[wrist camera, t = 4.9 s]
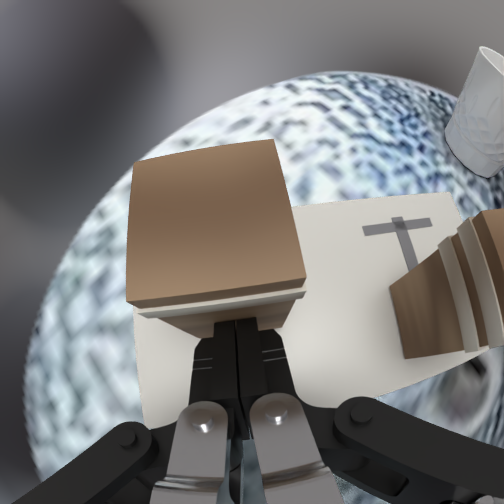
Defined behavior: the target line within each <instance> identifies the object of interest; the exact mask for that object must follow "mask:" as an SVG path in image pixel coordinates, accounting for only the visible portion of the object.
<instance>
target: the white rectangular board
mask: <svg viewBox="0 0 504 504" xmlns="http://www.w3.org/2000/svg"><path fill="white" fill-rule="evenodd" d="M291 209H292V213H293V217H294V221H295V226H296V230H297V234H298V239H299V243H300V248H301V252H302V257H303V261H304V266H305V271H306V275H307V278H306V280H305V284H306V289H307V291H306V293H305V295H304V297H303V298H302V299H296V301H295V303H294V305H293V307H292V309H291V311H290V313H289V315H288V317H287V319H286V321H285V323H284V325H283V327H281V328H275V329H274V330H275V331H276V332H277V333H278V334H279V335H280V336H281V337H282V341H283V344H284V349H285V352H286V356H287V360H288V364H289V368H290V372H291V376H292V379H293V383H294V387H295V391H296V394H297V395H298V397H299V398H300V399H301V400H302V401H304V402H305V403H307V404H309V405H312V406H315V407H324V408H338V406H339V405H340V404H341V403H343V402H344V401H346V400H348V399H350V398H353V397H358V396H365V397H370V398H375V397H378V396H381V395H384V394H387V393H390V392H393V391H396V390H399V389H402V388H404V387H407V386H410V385H413V384H415V383H418V382H420V381H423V380H425V379H428V378H430V377H433V376H435V375H438V374H440V373H442V372H444V371H447V370H449V369H451V368H453V367H456V366H458V365H460V364H462V363H464V362H466V361H468V360H470V359H472V358H474V357H476V356H478V355H480V354H482V353H484V352H486V351H487V350H489V346H487V347H485V348H483V349H481V350H479V351H475V352H469V353H465V350H463V351H458V352H452V353H446V354H440V355H434V356H427V357H420V358H412V359H405V355H404V350H403V344H402V339H401V334H400V329H399V325H398V320H397V316H396V311H395V307H394V303H393V299H392V295H391V291H390V287H389V286H390V285H392V284H393V283H394V282H396V281H397V280H399V279H400V278H401V277H403V276H404V275H405V274H407V273H408V272H409V271H411V270H412V269H413V268H414V267H416V266H417V265H418V264H420V263H421V262H422V261H423V260H425V259H426V258H427V257H429V256H430V255H431V254H432V253H434V252H435V251H436V250H437V249H438V246H437V245H438V244H439V243H440V242H442V241H443V240H444V239H445V238H446V237H447V236H451V235H455V234H456V233H457V229H456V228H458V227H459V226H460V225H461V224H462V223H463V221H462V219H461V216H460V214H459V211H458V209H457V207H456V205H455V202H454V200H453V198H452V196H451V194H450V192H440V193H426V194H413V195H400V196H389V197H378V198H367V199H357V200H347V201H338V202H329V203H320V204H311V205H303V206H295V207H291ZM133 315H134V335H135V349H136V361H137V372H138V381H139V390H140V397H141V405H142V412H143V418H144V424H145V426H146V427H147V428H159V427H162V426H166V425H169V424H171V423H173V422H175V421H177V420H178V417H179V415H180V413H181V412H182V411H183V410H184V409H185V408H186V407H187V406H188V403H189V394H190V384H191V375H192V371H193V369H192V367H193V361H194V360H193V358H194V350H195V347H196V346H197V344H198V343H199V341H200V340H201V338H197V337H195V336H193V335H191V334H188V333H186V332H184V331H182V330H180V329H178V328H176V327H174V326H172V325H170V324H168V323H166V322H164V321H162V320H160V319H158V318H151V319H147V318H145V317H143V316H141V315H139V314H137V313H136V307H135V306H133ZM490 349H491V348H490Z"/></svg>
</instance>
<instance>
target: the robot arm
mask: <svg viewBox="0 0 504 504" xmlns="http://www.w3.org/2000/svg"><path fill="white" fill-rule="evenodd" d="M193 360H194V361H193V367H192V369H193V371H192V375H191V384H190V394H189V403H188V406H187V407H186V408H185V409H184V410H183V411H182V412H181V413H180V415H179V417H178V420H177V421H175V422H173V423H171V424H169V425H166V426H162V427H159V428H155V429H151V430H149V429H148V428H147V427H146V426H145V425H143V424H141V423H138V422H132V421H131V422H124V423H121V424H119V425H117V426H116V427H114V428H113V429H112V430H111V431H109V432H108V433H107V434H106V435H104V436H103V437H102V438H101V439H99V440H98V441H97V442H95V443H94V444H93V445H92V446H90V447H89V448H88V449H86V450H85V451H84V452H83V453H81V454H80V455H79V456H77V457H76V458H75V459H73V460H72V461H71V462H69V463H68V464H67V465H65V466H64V467H63V468H61V469H60V470H59V471H57V472H56V473H55V474H53V475H52V476H51V477H49V478H48V479H46V480H45V481H44V482H42V483H41V484H39V485H38V486H37V487H35V488H34V489H32V490H31V491H29V492H28V493H27V494H25V495H24V496H22V497H21V498H20V499H18V500H16V501H15V502H13V503H12V504H243V475H244V459H243V445H242V440H249V439H250V436H249V429H250V433H251V437H252V439H254V441H255V446H256V451H257V456H258V461H259V465H260V470H261V475H262V480H263V481H262V482H263V488H264V493H265V497H266V502H267V504H344V501H343V499H342V496H341V494H340V491H339V488H338V486H337V483H336V481H335V478H334V476H333V474H332V473H334V474H335V475H337V476H339V477H340V478H342V479H344V480H346V481H348V482H349V483H351V484H353V485H355V486H357V487H358V488H360V489H362V490H364V491H366V492H368V493H370V494H372V495H374V496H376V497H378V498H380V499H382V500H384V501H386V502H388V503H391V504H504V449H502V448H499V447H496V446H493V445H489V444H486V443H483V442H480V441H477V440H474V439H472V438H469V437H466V436H463V435H460V434H458V433H455V432H452V431H449V430H447V429H444V428H442V427H439V426H436V425H434V424H431V423H429V422H426V421H424V420H422V419H419V418H417V417H414V416H412V415H410V414H407V413H405V412H403V411H400V410H398V409H396V408H393V407H391V406H389V405H387V404H384V403H382V402H380V401H378V400H376V399H373V398H370V397H365V396H358V397H353V398H350V399H348V400H346V401H344V402H343V403H341V404H340V405H339V406H338V408H324V407H315V406H312V405H309V404H307V403H305V402H304V401H302V400H301V399H300V398H299V397H298V395H297V394H296V391H295V387H294V383H293V379H292V376H291V372H290V368H289V364H288V360H287V356H286V352H285V349H284V344H283V341H282V337H281V336H280V335H279V334H278V333H277V332H276V331H275V330H274V329H267V330H261V331H258V325H257V318H256V317H253V318H246V319H239V320H236V324H235V321H234V320H232V321H225V322H217V323H214V331H213V337H209V338H201V340H200V341H199V343H198V344H197V346H196V347H195V350H194V358H193Z"/></svg>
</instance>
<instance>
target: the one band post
mask: <svg viewBox="0 0 504 504" xmlns="http://www.w3.org/2000/svg"><path fill="white" fill-rule="evenodd" d="M306 278H307V275H306V271H305V266H304V261H303V257H302V252H301V248H300V243H299V239H298V234H297V230H296V226H295V221H294V217H293V213H292V209H291V205H290V200H289V196H288V192H287V188H286V184H285V180H284V176H283V173H282V169H281V165H280V161H279V157H278V153H277V150H276V146H275V142H274V139H268V140H259V141H250V142H243V143H235V144H228V145H221V146H215V147H208V148H202V149H197V150H191V151H186V152H180V153H175V154H170V155H165V156H160V157H156V158H151V159H147V160H142V161H138V162H134V166H133V174H132V183H131V193H130V204H129V216H128V232H127V255H126V302H128V303H130V304H132V305H133V306H135V307H136V313H137V314H139V315H141V316H143V317H145V318H147V319H151V318H158V319H160V320H162V321H164V322H166V323H168V324H170V325H172V326H174V327H176V328H178V329H180V330H182V331H184V332H186V333H188V334H191V335H193V336H195V337H197V338H209V337H213V331H214V323H217V322H225V321H232V320H234V321H235V324H236V320H239V319H246V318H253V317H256V318H257V325H258V331H261V330H267V329H275V328H281V327H283V325H284V323H285V321H286V319H287V317H288V315H289V313H290V311H291V309H292V307H293V305H294V303H295V301H296V299H302V298H303V297H304V295H305V293H306V291H307V289H306V284H305V280H306Z"/></svg>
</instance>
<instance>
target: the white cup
mask: <svg viewBox="0 0 504 504" xmlns="http://www.w3.org/2000/svg"><path fill="white" fill-rule="evenodd" d="M445 137H446V141H447V143H448V145H449V147H450V148H451V150H452V152H453V154H454V155H455V156H456V157H457V158H458V159H459V160H460V161H461V162H462V163H463V165H464V166H466V167H467V168H468V169H470V170H471V171H473V172H474V173H475V174H477V175H480V176H483V177H486V178H489V177H492V176H495V175H496V174H497V173H498V172H499V171H500V170H501V169H502V168H503V167H504V57H503V56H502V55H500V54H499V53H497V52H495V51H494V50H492V49H489V48H487V47H484V46H481V47H479V50H478V53H477V55H476V58H475V61H474V63H473V66H472V68H471V71H470V73H469V75H468V77H467V80H466V83H465V85H464V87H463V89H462V91H461V94H460V96H459V98H458V101H457V104H456V105H455V109H454V112H453V114H452V117H451V119H450V121H449V122H448V124H447V126H446V128H445Z"/></svg>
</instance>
